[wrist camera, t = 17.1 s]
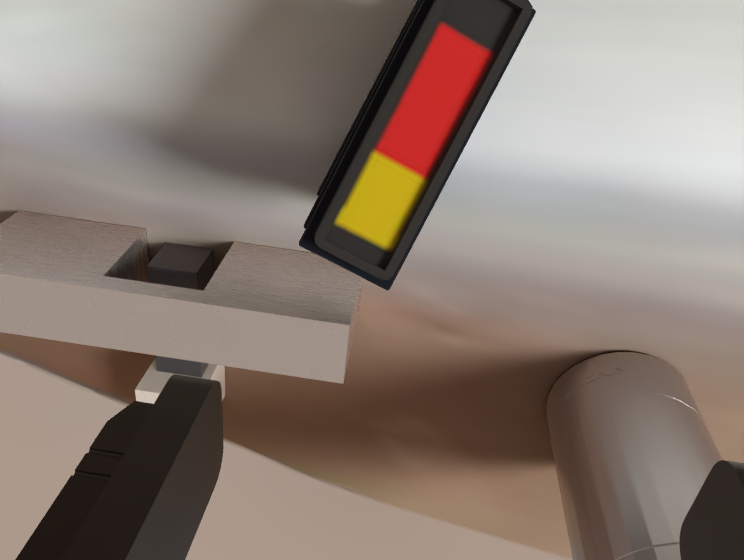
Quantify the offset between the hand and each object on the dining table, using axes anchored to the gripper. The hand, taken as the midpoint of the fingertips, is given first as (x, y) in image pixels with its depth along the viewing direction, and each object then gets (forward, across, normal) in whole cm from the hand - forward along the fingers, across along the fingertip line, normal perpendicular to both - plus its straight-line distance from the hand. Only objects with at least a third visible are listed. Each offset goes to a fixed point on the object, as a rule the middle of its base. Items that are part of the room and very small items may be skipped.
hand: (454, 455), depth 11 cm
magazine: (+27, +2, +1) cm, 27 cm away
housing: (+26, +15, +14) cm, 33 cm away
